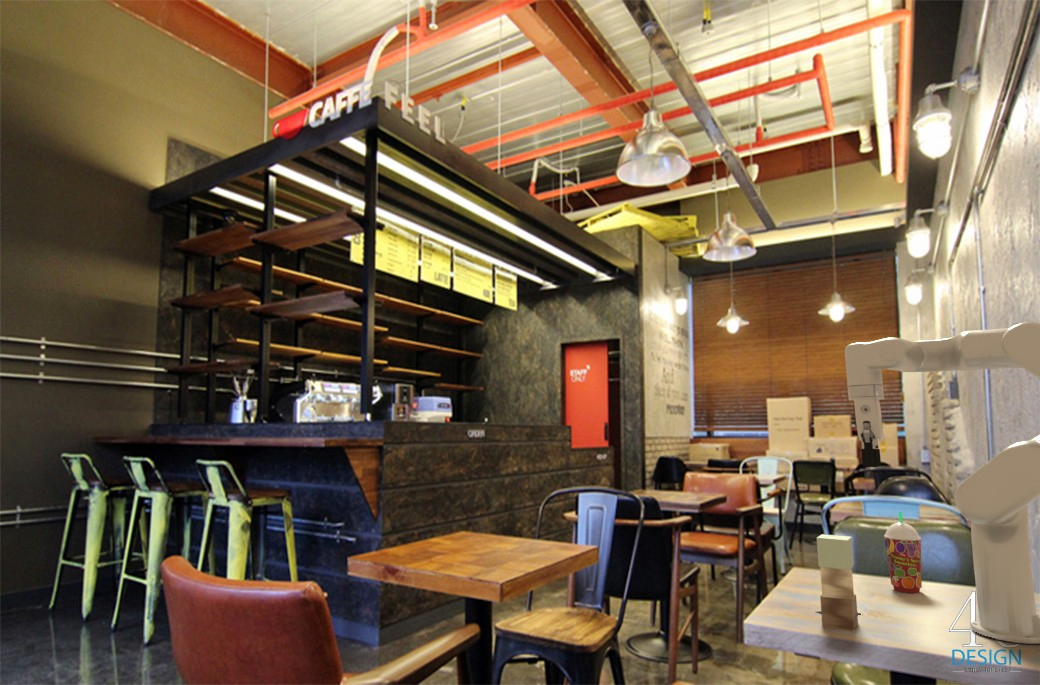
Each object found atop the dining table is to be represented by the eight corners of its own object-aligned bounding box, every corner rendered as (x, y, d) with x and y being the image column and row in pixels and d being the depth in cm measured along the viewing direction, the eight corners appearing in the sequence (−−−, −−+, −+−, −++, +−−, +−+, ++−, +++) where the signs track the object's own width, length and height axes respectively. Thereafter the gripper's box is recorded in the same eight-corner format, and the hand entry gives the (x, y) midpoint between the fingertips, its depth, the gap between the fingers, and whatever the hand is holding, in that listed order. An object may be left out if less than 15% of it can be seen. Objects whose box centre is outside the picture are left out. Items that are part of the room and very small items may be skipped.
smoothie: (892, 593, 161) (886, 512, 164) (884, 586, 169) (878, 509, 172) (930, 596, 159) (923, 514, 162) (920, 588, 167) (913, 510, 170)
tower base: (858, 623, 135) (856, 594, 136) (853, 630, 131) (851, 600, 131) (827, 619, 139) (825, 590, 140) (822, 625, 134) (820, 595, 135)
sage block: (853, 565, 137) (851, 536, 138) (849, 570, 132) (847, 540, 133) (823, 562, 141) (821, 534, 141) (818, 566, 136) (816, 537, 137)
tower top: (853, 593, 137) (851, 564, 138) (854, 600, 132) (851, 569, 132) (823, 590, 140) (821, 562, 140) (822, 596, 134) (820, 567, 135)
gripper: (881, 390, 143) (888, 467, 141) (885, 395, 158) (892, 465, 155) (844, 392, 147) (850, 467, 145) (851, 396, 162) (857, 464, 159)
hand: (872, 466), depth 150 cm, fingers open, 9 cm apart
